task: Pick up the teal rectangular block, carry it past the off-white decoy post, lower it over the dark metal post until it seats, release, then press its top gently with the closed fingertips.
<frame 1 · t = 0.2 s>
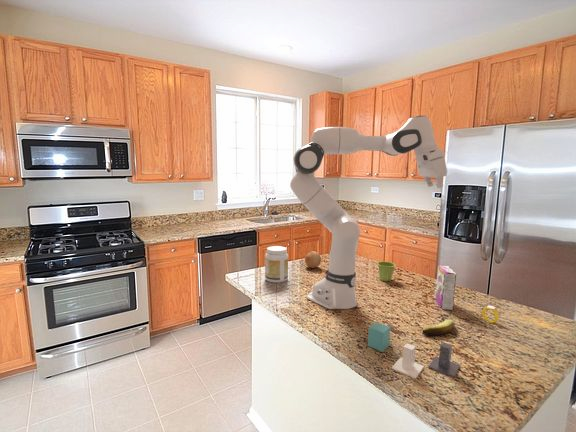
hand: (435, 186, 135), 52 cm above the counter, tool tilted 20°, fingers open, 8 cm apart
brown round ball: (312, 268, 192), on the counter
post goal: (444, 367, 97), on the counter
banana: (438, 331, 120), on the counter
watch: (489, 321, 128), on the counter
candy bar box: (443, 305, 142), on the counter
supplement tub: (276, 279, 171), on the counter
plant pot: (385, 279, 174), on the counter
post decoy: (407, 368, 96), on the counter
teal rectangular block: (378, 345, 108), on the counter
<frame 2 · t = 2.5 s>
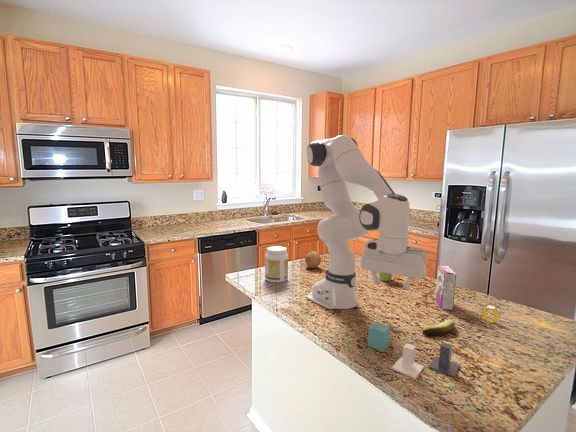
hand: (391, 286, 105), 21 cm above the counter, tool pointing down, fingers open, 8 cm apart
nothing on the counter moved.
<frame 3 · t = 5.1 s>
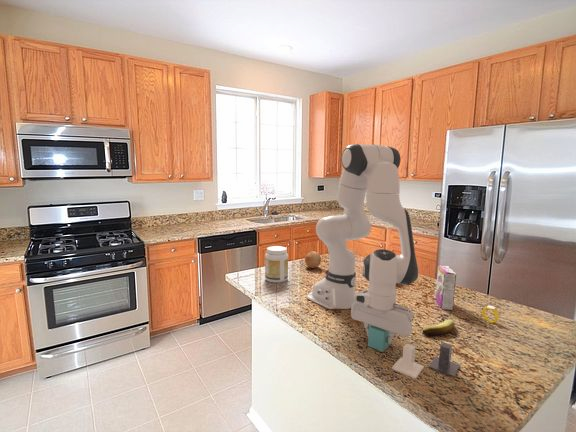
hand: (378, 339, 108), 2 cm above the counter, tool pointing down, fingers closed on teal rectangular block, 5 cm apart
teal rectangular block: (378, 345, 108), on the counter, touching gripper
everything else where it was.
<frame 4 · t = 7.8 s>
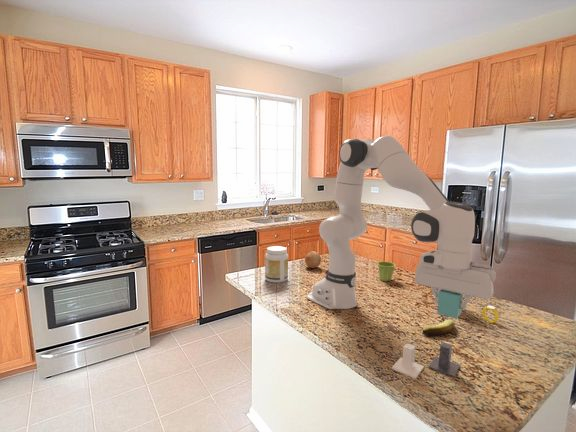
hand: (450, 305, 94), 20 cm above the counter, tool pointing down, fingers closed on teal rectangular block, 5 cm apart
teal rectangular block: (449, 312, 94), point 17 cm above the counter, touching gripper
everything else where it was.
when the fingers open (5 cm above the counter, at t = 10.8 s): teal rectangular block drops 1 cm, resting on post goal.
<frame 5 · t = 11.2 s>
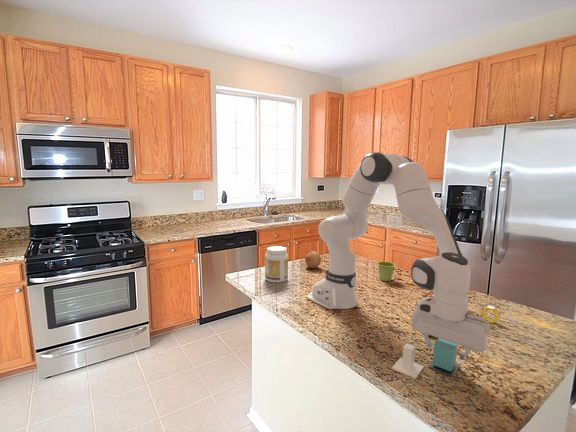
hand: (445, 352, 96), 5 cm above the counter, tool pointing down, fingers open, 8 cm apart
teal rectangular block: (444, 364, 97), point 1 cm above the counter, touching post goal
everything else where it was.
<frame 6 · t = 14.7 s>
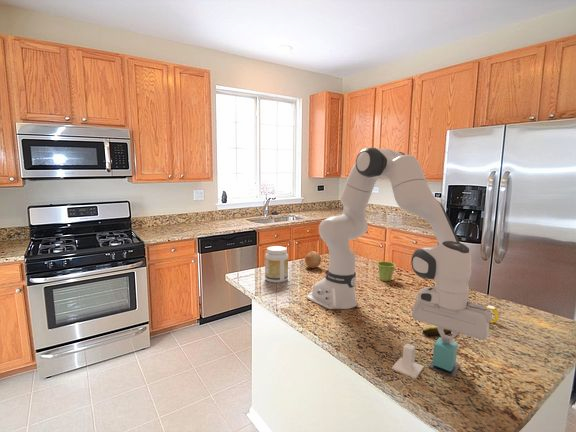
hand: (446, 342, 96), 8 cm above the counter, tool pointing down, fingers closed
nothing on the counter moved.
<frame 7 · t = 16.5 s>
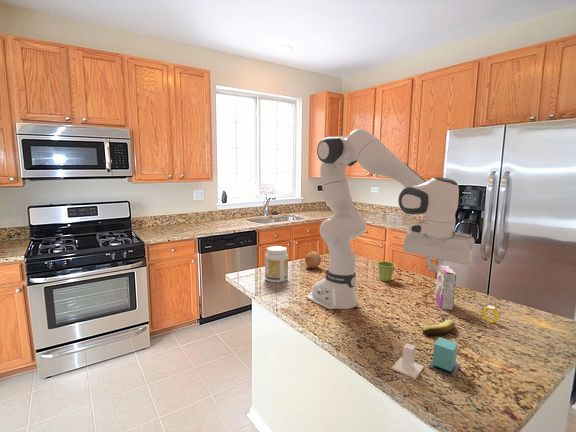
hand: (433, 270, 104), 26 cm above the counter, tool pointing down, fingers closed
nothing on the counter moved.
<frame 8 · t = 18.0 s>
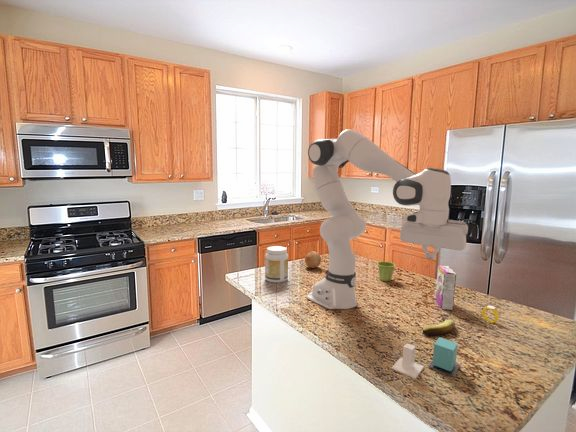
hand: (429, 258, 108), 29 cm above the counter, tool pointing down, fingers closed
nothing on the counter moved.
at the end: teal rectangular block 0.1 cm from the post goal (horizontally); teal rectangular block point 1.0 cm above the counter; the gripper is holding nothing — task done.
